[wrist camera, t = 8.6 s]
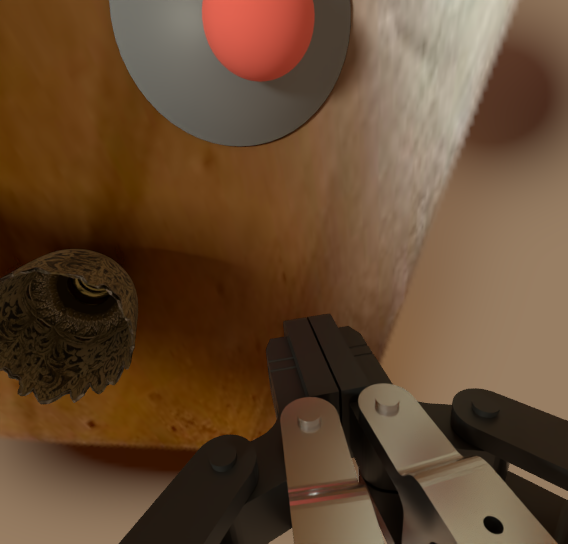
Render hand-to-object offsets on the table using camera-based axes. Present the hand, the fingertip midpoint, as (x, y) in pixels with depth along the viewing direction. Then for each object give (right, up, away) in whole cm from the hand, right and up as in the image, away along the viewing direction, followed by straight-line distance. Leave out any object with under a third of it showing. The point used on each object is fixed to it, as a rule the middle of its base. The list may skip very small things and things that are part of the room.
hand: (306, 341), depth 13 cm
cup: (-13, +2, +13) cm, 19 cm away
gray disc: (-3, +16, +9) cm, 19 cm away
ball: (-2, +15, +7) cm, 16 cm away
